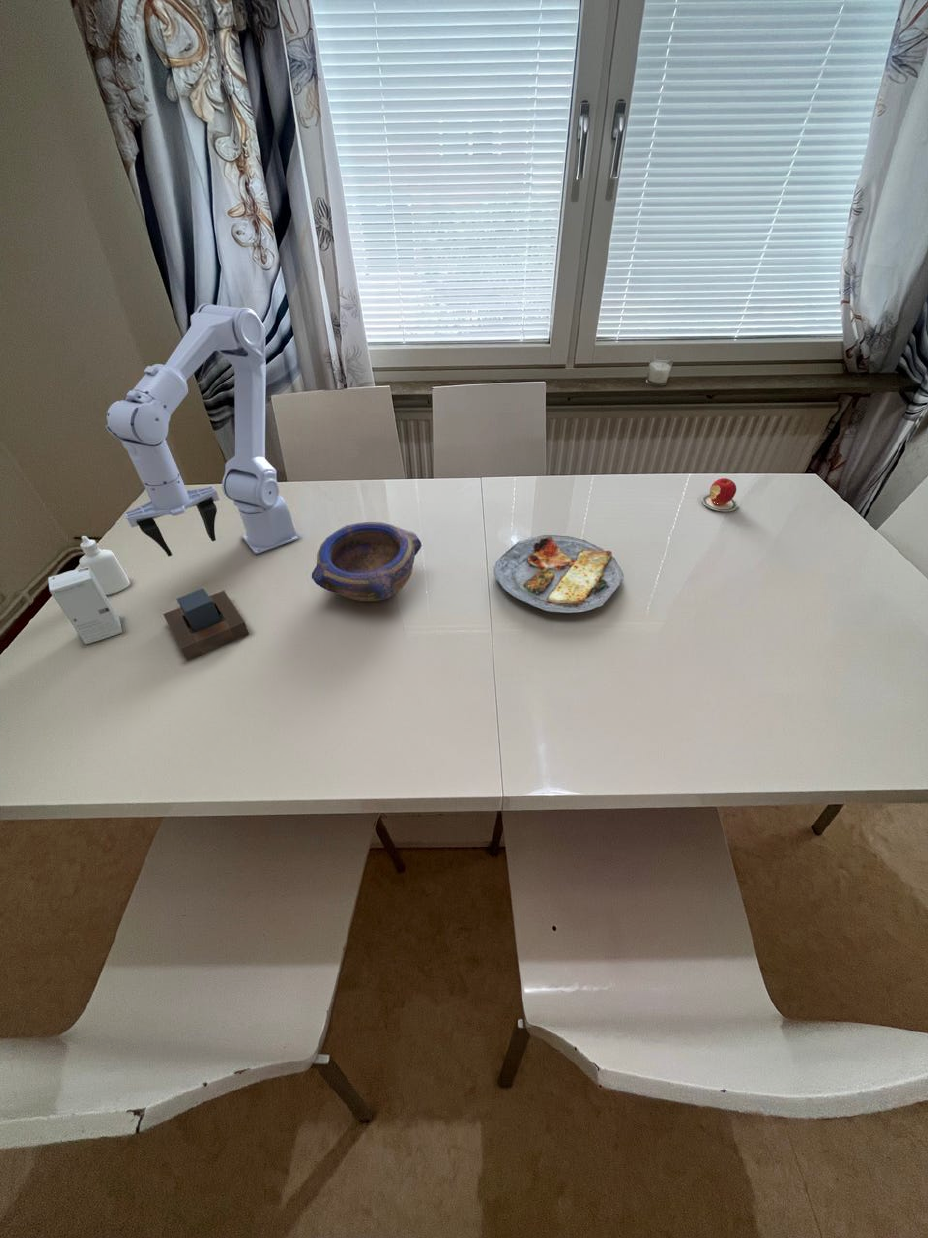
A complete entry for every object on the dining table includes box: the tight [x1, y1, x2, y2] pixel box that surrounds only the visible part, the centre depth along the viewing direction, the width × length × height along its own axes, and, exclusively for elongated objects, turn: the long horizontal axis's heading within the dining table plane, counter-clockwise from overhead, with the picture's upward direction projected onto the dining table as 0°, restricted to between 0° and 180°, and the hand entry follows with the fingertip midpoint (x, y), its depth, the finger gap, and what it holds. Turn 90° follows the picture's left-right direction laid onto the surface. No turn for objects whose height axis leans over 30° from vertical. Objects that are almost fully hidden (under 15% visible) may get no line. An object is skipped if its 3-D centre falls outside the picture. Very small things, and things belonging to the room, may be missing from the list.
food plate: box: [492, 534, 624, 614], centre depth 101 cm, size 25×23×4 cm
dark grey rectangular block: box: [176, 587, 222, 633], centre depth 89 cm, size 4×4×7 cm
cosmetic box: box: [47, 567, 123, 645], centre depth 87 cm, size 6×4×12 cm
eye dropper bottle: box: [79, 535, 131, 596], centre depth 96 cm, size 4×6×12 cm
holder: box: [162, 590, 250, 662], centre depth 91 cm, size 11×11×3 cm
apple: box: [701, 477, 738, 512], centre depth 121 cm, size 8×8×6 cm
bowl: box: [311, 521, 422, 602], centre depth 97 cm, size 18×18×10 cm
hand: (191, 545), depth 94 cm, fingers open, 7 cm apart
